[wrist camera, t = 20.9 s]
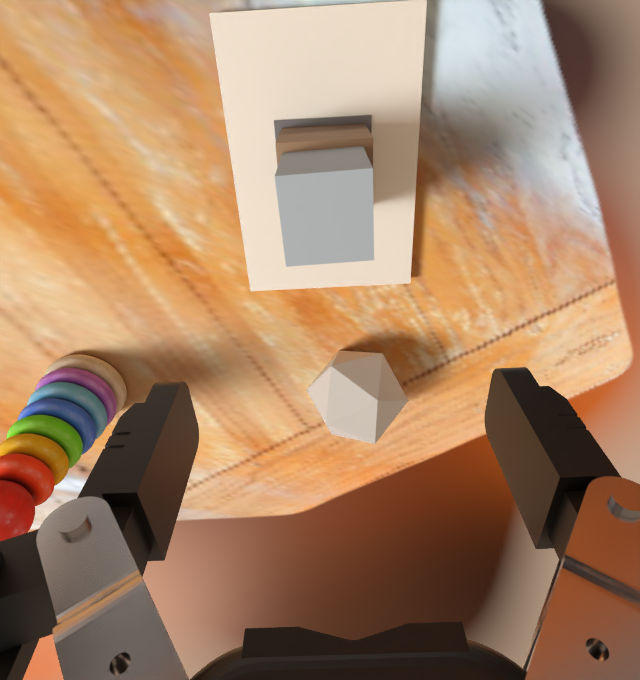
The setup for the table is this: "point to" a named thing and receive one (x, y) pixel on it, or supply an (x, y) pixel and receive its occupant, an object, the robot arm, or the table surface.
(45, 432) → the stacking toy
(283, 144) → the walnut block
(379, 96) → the cream board
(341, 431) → the die
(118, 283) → the table surface
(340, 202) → the slate block
